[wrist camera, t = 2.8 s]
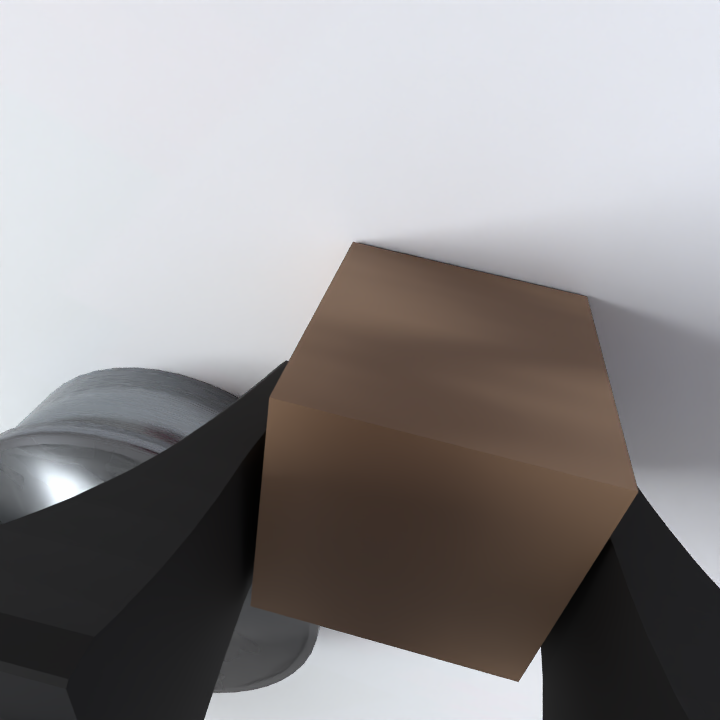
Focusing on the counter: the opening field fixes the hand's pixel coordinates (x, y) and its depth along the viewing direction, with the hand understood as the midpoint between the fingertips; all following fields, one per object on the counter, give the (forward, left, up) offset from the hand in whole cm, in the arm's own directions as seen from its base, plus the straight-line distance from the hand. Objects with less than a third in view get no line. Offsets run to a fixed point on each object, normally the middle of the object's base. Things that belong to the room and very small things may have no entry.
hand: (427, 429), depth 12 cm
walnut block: (0, -1, -1) cm, 2 cm away
